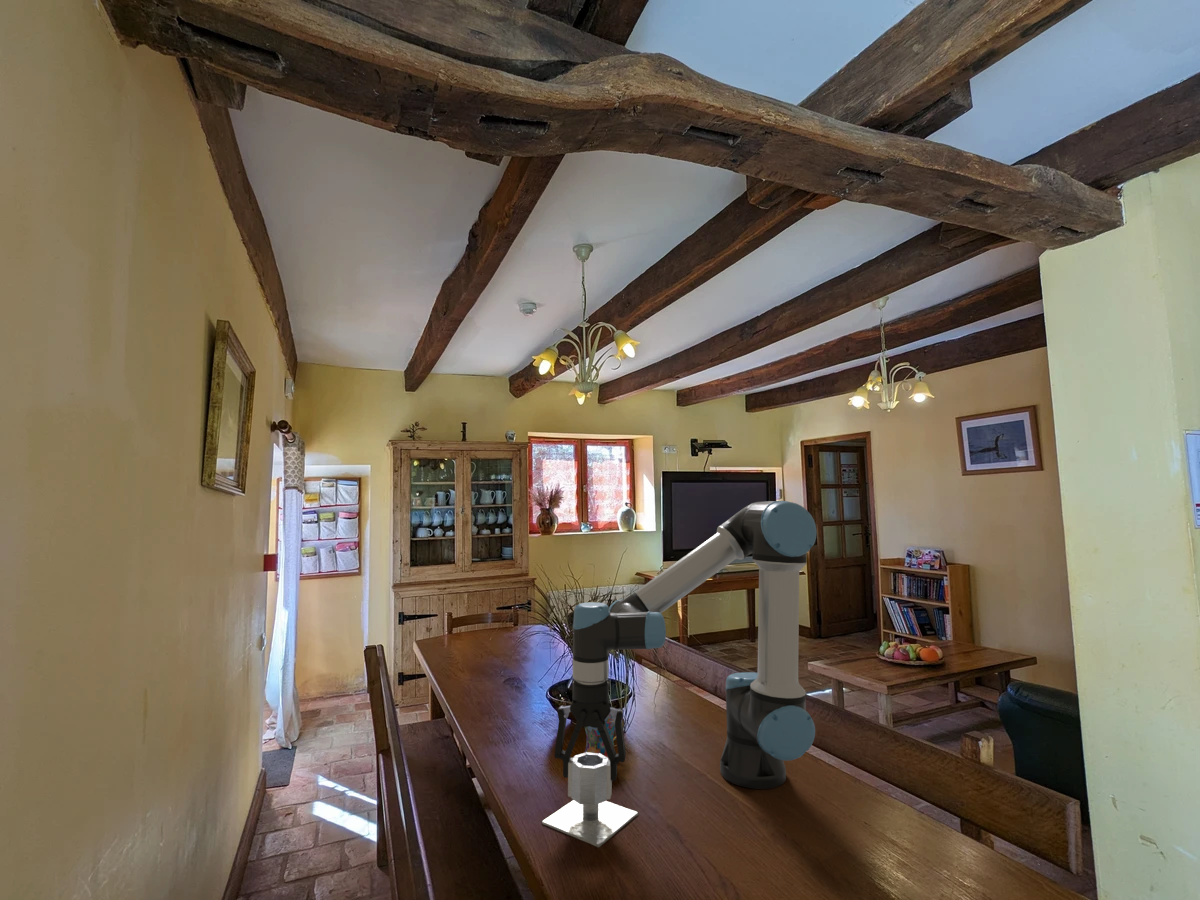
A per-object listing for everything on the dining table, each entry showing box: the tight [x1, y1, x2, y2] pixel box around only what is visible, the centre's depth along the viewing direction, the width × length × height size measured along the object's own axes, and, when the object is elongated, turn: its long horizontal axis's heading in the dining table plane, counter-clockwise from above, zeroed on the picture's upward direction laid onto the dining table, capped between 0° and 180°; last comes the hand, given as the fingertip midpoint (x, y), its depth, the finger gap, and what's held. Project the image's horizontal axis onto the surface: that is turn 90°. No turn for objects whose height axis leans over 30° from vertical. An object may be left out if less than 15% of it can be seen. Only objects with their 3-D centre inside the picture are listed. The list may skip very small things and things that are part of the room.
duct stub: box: [542, 799, 639, 848], centre depth 119 cm, size 14×14×7 cm
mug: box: [583, 714, 626, 760], centre depth 147 cm, size 12×9×11 cm
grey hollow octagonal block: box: [570, 751, 608, 805], centre depth 119 cm, size 7×7×7 cm
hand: (589, 794), depth 119 cm, fingers closed on grey hollow octagonal block, 7 cm apart
